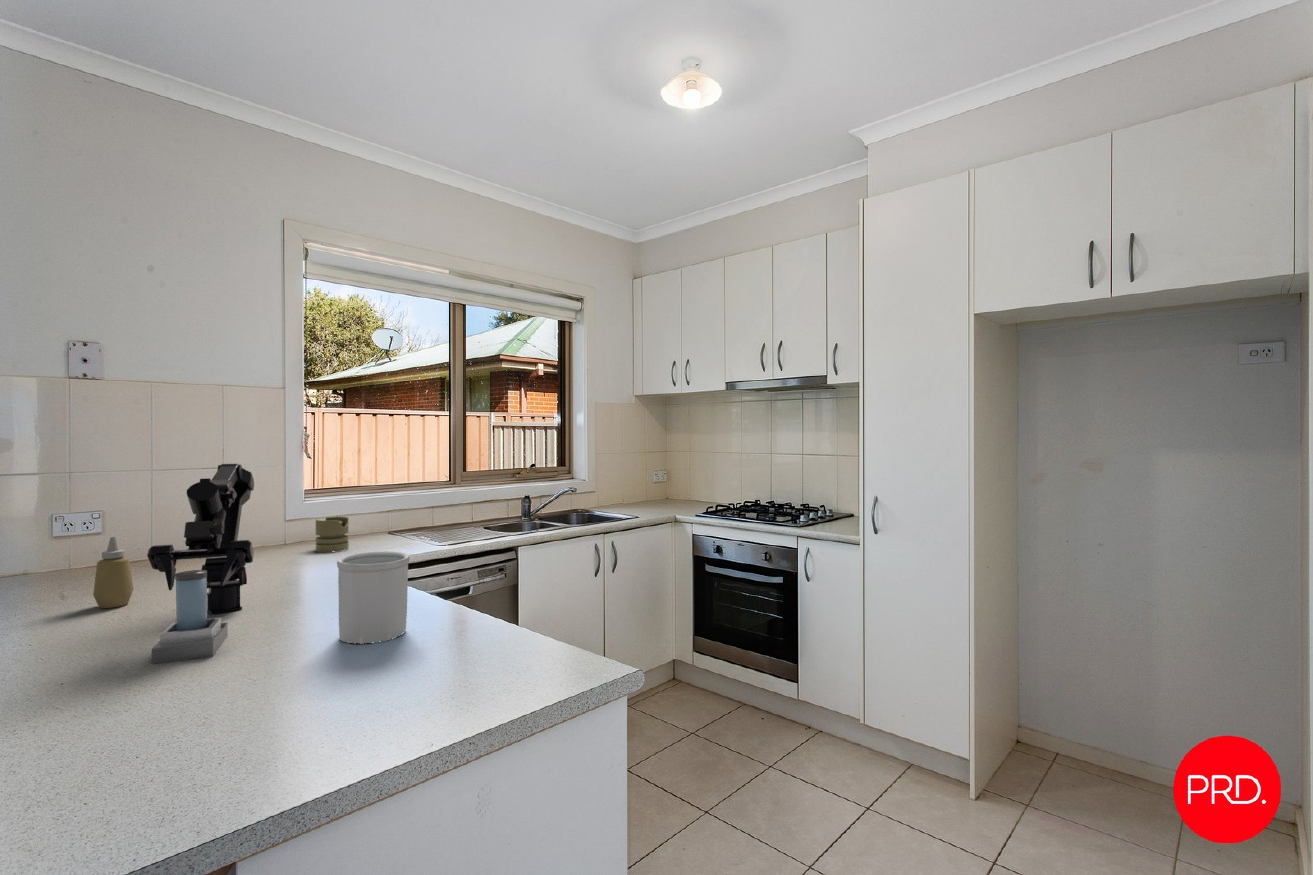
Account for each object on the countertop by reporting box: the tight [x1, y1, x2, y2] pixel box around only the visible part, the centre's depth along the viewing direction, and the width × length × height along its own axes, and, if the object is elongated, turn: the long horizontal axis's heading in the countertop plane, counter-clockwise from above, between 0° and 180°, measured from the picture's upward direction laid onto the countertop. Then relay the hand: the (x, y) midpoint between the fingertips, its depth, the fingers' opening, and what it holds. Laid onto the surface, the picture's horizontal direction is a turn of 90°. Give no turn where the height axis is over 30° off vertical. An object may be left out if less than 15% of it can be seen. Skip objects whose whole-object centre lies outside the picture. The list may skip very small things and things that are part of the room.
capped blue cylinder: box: [174, 569, 208, 631], centre depth 132 cm, size 5×5×13 cm
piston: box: [315, 516, 350, 553], centre depth 244 cm, size 11×12×11 cm
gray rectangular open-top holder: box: [151, 617, 229, 665], centre depth 132 cm, size 14×10×5 cm
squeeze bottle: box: [92, 536, 134, 609], centre depth 165 cm, size 8×8×18 cm
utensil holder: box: [336, 550, 410, 645], centre depth 141 cm, size 15×15×18 cm
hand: (196, 587), depth 135 cm, fingers open, 9 cm apart
